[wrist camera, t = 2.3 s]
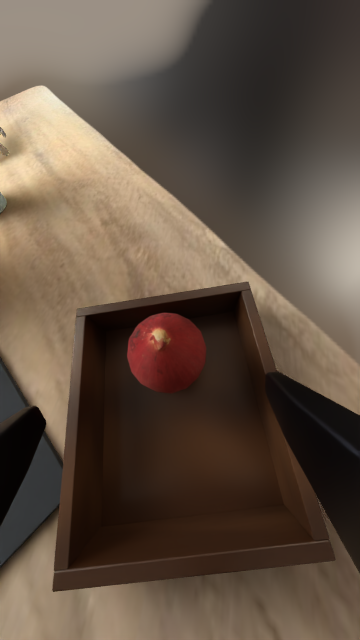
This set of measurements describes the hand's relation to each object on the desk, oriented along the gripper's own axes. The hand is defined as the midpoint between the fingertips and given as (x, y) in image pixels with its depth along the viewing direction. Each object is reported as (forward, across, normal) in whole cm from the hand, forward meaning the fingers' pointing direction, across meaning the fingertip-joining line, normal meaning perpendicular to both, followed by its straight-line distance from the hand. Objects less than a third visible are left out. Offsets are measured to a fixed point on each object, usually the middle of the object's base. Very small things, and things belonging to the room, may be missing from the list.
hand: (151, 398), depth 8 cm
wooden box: (+7, 0, +8) cm, 10 cm away
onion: (+10, 0, +5) cm, 11 cm away
